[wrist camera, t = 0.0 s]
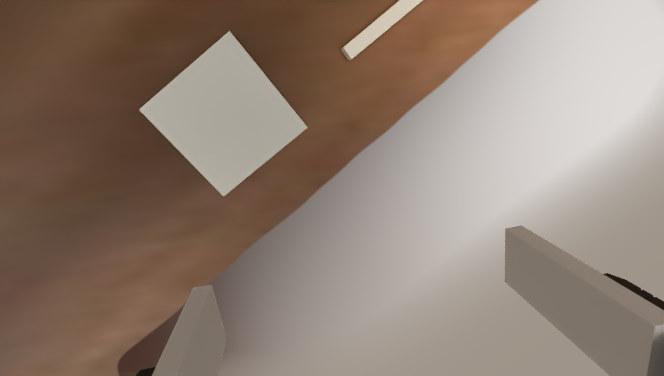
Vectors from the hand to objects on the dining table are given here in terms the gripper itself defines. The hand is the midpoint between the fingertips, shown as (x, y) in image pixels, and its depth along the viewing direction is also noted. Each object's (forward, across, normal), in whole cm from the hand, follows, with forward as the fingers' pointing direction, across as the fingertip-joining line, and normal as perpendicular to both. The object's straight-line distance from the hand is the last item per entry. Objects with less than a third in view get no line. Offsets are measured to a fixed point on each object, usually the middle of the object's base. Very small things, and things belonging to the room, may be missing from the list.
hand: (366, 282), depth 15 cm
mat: (+28, -9, +6) cm, 30 cm away
